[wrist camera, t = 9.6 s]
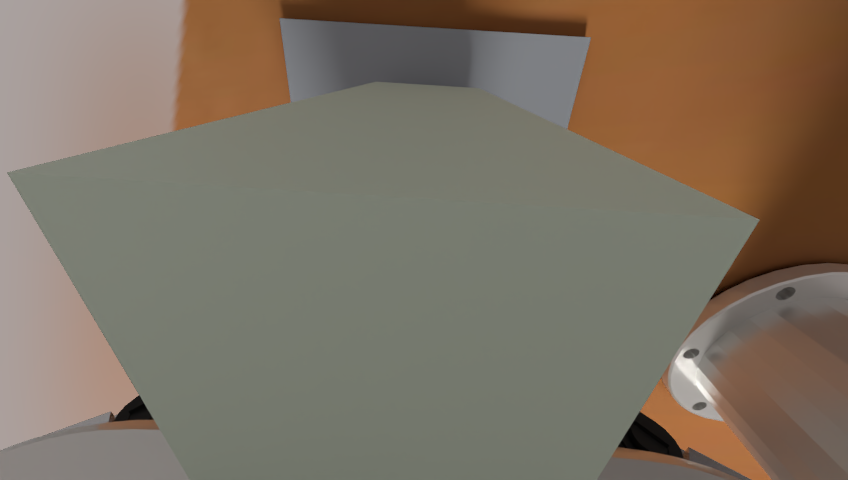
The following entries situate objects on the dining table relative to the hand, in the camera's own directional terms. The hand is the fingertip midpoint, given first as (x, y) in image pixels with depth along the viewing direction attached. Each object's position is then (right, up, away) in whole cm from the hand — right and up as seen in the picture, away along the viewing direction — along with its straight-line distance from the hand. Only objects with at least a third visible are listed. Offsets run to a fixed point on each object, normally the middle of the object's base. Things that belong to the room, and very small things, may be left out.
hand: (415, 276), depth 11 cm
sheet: (0, +2, +4) cm, 4 cm away
